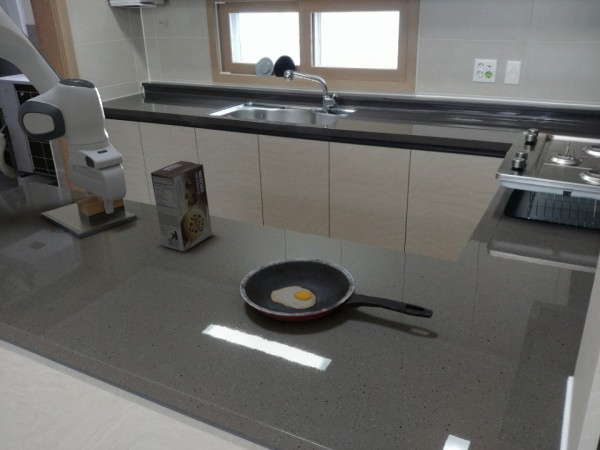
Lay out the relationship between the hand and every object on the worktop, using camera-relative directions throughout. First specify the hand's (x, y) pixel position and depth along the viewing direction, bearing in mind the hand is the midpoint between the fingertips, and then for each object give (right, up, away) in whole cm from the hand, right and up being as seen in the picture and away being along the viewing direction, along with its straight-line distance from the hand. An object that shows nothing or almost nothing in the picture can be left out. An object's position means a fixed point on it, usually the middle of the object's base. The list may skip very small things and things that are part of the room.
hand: (102, 209), depth 127 cm
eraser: (0, -1, 0) cm, 1 cm away
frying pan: (+52, -17, -40) cm, 68 cm away
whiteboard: (-4, -2, +1) cm, 4 cm away
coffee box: (+23, -7, -13) cm, 27 cm away
